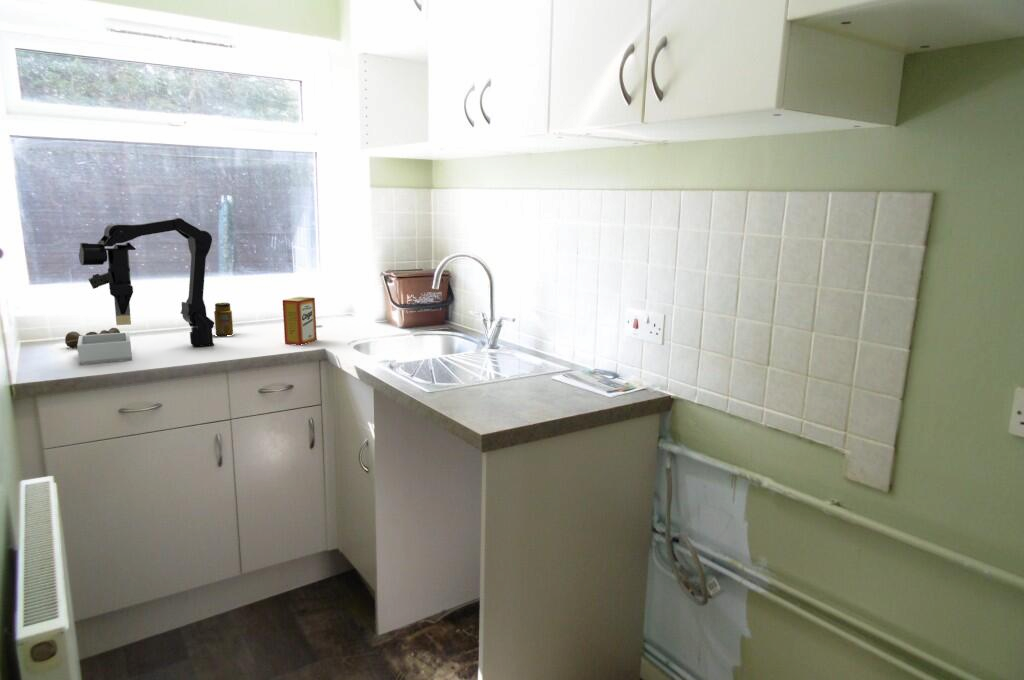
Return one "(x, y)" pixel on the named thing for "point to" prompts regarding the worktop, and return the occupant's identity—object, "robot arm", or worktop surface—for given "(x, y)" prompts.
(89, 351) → the walled box
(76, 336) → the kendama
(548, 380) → the worktop surface
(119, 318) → the block
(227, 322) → the condiment
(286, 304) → the baking soda box
